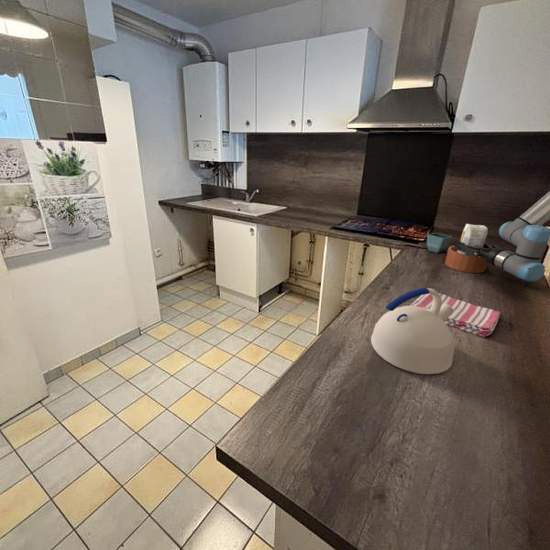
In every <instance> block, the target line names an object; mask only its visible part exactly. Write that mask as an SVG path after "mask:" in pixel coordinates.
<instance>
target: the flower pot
mask: <svg viewBox="0 0 550 550" xmlns="http://www.w3.org/2000/svg"><path fill="white" fill-rule="evenodd" d="M451 240H452V236H451V235H448V234H443V233H440V232H433V233H428V234H427V237H426V247H427V249H428V251H429V252H433V253H437V254H439V253H442V252H443V251H445V250H446V248H447V247H448V246H449V244H450V242H451Z"/></svg>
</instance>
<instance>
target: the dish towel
mask: <svg viewBox="0 0 550 550" xmlns="http://www.w3.org/2000/svg"><path fill="white" fill-rule="evenodd" d="M438 293H439V292H438ZM439 295H440V297H441V299H442V305H443V303H447V304H448V305H450V306H451V307H452V308H453V310H454V313H451V314H450V315H449V316H448V317H447V318H446V319H445V320H444V322H445V323H446V325H447V326H448V325H449V326H450V327H454V328H457V329H460V330H462V331H464V332H467V333H470V334H472V335H475V336H480V337H482V338H485V337H488V336H490V335H491V334H493V331H494V330H495V328H496V326H497V324H498V321H499V319H500V315H501V313H502V311H499V310H494V309H491V308H487V307H483V306H479V305H475V304H472V303H470V302H467V301H463V300H460V299H457V298H454V297H451V296H449V295H446V294H443V293H439ZM432 303H433V296H432V294H424V295H420V296H418V298H416V299H415V300H414V301H413V302H412V303H411V304H410V305H409V306H417V307H421V308H425V309H430V308H431V306H432Z"/></svg>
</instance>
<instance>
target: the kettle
mask: <svg viewBox="0 0 550 550" xmlns="http://www.w3.org/2000/svg"><path fill="white" fill-rule="evenodd" d="M424 294H432V296H433V303H432V306H431V308H430V309H425V308H421V307H417V306H410V305H403V306H401V305H402V304H404V303H405V302H407V301H410V300H411V299H414V298H417V297H420V296H421V295H424ZM385 308H386V309H387V310H388V311H387V312H385V313H384V314H382V316H381V317H380V318H379V319H378V321H376V323H375V326H374V328H373V331H372V334H371V338H370V343H371V347H372V348H373V349H374V351H375V352H376V354H378V355H379V357H381V358H382V359H383V360H384V361H386V362H387V363H389V364H391V365H392V366H394V367H397V368H399V369H401V370H404V371H406V372H410V373H413V374H420V375H434V374H435V375H436V374H440V373H444V372H446V371H448V370H449V369H450V368H451V367H452V364H453V361H454V359H453V358H454V354H455V349H456V346H455V341H454V336H453V333H452V330H451V329H450V328H449V326H448V324H446V323H445V322H444V320H445V319H446V318H447V317H448V316H449V315H450V314H451V313H454V310H453V308H452V307H451V306H450V305H448V304H447V303H443V305H442V299H441V297H440V295H439V292H437V290H435V289H434V288H431V287H430V288H429V287H421V288H416V289H413V290H411V291H408V292H406V293H403V294H401V295H399V296H398V297H396V298H394V299H393V300H391V301H390V302H388V304H387V305H386V306H385Z"/></svg>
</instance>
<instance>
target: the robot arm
mask: <svg viewBox="0 0 550 550" xmlns="http://www.w3.org/2000/svg"><path fill="white" fill-rule="evenodd" d="M548 220H550V190H549V191H548V192H547V193H546V194H544V195H543V196H542V197H541V198H539V199H538V200H537V201H536V202H535V203H534V204H533V205H532V206H530V207H529V208H528V209H526V210H525V211H524V212H523V213H522V214H520V215H519V216H518V217H517V218H516V219H515V220H513V221H507V222H505V223H503V224H501V226H500V227H499V229H498V235H499V236H500V237H501V238H502V239H503V240H504V241H505V242H508V243H510V244H512V245H514V246H515V247H516V249H515V252H513V251H511V250H507V249H505V248H503V247H499V246H497V245H495V244H489V243H488V244H487V243H486V242H485V243H484V246H483V248H481V247H480V248H476V247H472V246H468V245H465V244H464V243H462V242H460V240H457V239H454V240H453V242H452V246H455V247H457V248H458V251H462V252H464V253H467V254H470V255H473V256H475V257H478V256H481V257H483V258H486V259H487V262H488V264H489V265H491V266H493V267H496V268H497V269H500V270H502V272H503V273H504V272H507V273H508V274H510V275H512V276H515V277H516V278H517V279H521V280H523V281H526V282H530V283H531V282H536V281H538V280H540V279H541V278H542V277H543V276H544V274H545V273H546V267H545V265H544V264H543V263H542V262H541V259H542V256H543V254H544V252H545V249H546V247H547V245H548V243H549V241H550V227H547V226H543V225H544V224H545V223H546V222H547V221H548ZM480 250H481V253H480Z"/></svg>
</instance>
